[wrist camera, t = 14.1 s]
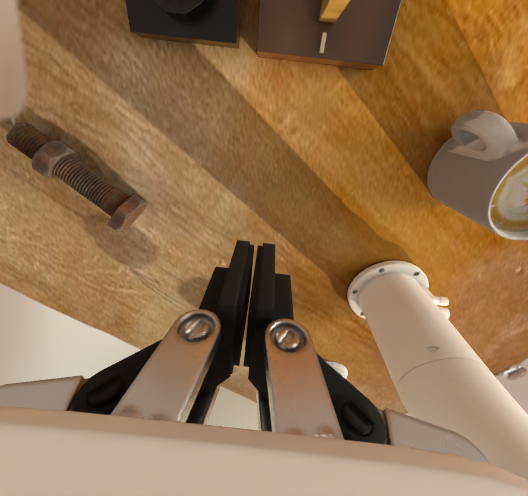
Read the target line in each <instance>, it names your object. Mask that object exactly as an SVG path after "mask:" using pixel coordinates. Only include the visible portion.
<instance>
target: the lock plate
mask: <svg viewBox="0 0 528 496" xmlns="http://www.w3.org/2000/svg"><path fill="white" fill-rule="evenodd" d="M401 1H402V0H350V2H349V3H348V4H347V6H346V7H345V9H344V10H343V11H342V13H341V14H340V16H339V17H338V18H337V20H336V21H335V23H331V22H323V21H319V16H320V10H321V4H322V0H259V17H258V34H257V54H258V57H263V58H272V59H281V60H290V61H299V62H307V63H316V64H325V65H334V66H342V67H351V68H360V69H369V70H372V69H375V68H378V67H380V66H383V64H384V61H385V57H386V54H387V50H388V47H389V43H390V40H391V36H392V33H393V29H394V26H395V22H396V19H397V15H398V12H399V8H400V5H401Z"/></svg>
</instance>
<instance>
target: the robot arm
mask: <svg viewBox="0 0 528 496" xmlns="http://www.w3.org/2000/svg"><path fill="white" fill-rule="evenodd" d="M253 254H254V245H250V242H249V241H240V240H237V243H236V246H235V250H234V253H233V256H232V259H231V263H230V266H229V268H222V267H216V268H215V270H214V272H213V274H212V277H211V279H210V282H209V285H208V287H207V290H206V292H205V295H204V297H203V300H202V302H201V305H200V307H199V309H198V310H192V311H189V312H186V313H184V314H183V315H181V316H180V317H179V318H178V319H177V320H176V321H175V322H174V324H173V325H172V327H171V328H170V329H169V331H168V332H167V334H166V335H165V337H164V338H163V339H162V340H160V341H158V342H156V343H154V344H152V345H150V346H148V347H146V348H144V349H142V350H140V351H139V352H137V353H135V354H133V355H131V356H129V357H127V358H125V359H123V360H121V361H119V362H117V363H115V364H114V365H111V366H109V367H108V368H106V369H104V370H102V371H100V372H98V373H97V374H95V375H94V376H92V377H91V378H88V379H84V378H83V376H74V377H66V378H57V379H48V380H40V381H31V382H23V383H13V384H6V385H2V386H0V496H528V415H527V414H526V413H525V411H524V410H523V409H522V408H521V407H520V406H519V404H518V403H517V402H516V401H515V400H514V399H513V398H512V396H511V395H510V394H509V393H508V392H507V391H506V390H505V388H504V387H503V386H502V385H501V383H499V381H498V380H497V379H496V377H495V376H494V375H493V374H492V373H491V371H490V370H489V369H488V368H487V367H486V365H485V364H484V363H483V362H482V360H481V359H480V358H479V357H478V356H477V354H476V353H475V352H474V351H473V349H472V348H471V347H470V346H469V345H468V343H467V342H466V341H465V340H464V339H463V337H462V336H461V335H460V334H459V332H458V331H457V330H456V329H455V328H454V326H453V325H452V324H451V323H450V321H449V320H448V318H449V317H450V312H449V310H448V309H447V308H444V307H437V306H436V305H443V306H447V305H448V304H449V300H448V298H447V297H440V296H437V297H435V296H433V295H432V293H431V292H430V291H429V290H428V287H429V285H428V280H427V277H426V275H425V274H424V273H423V272H422V271H421V270H420V269H419V268H418V267H417V266H415V265H413V264H411V263H408V262H405V261H386V262H381V263H378V264H375V265H372V266H370V267H368V268H366V269H365V270H363V271H362V272H361V273H359V274H358V275H357V276H356V277H355V278H354V280H353V281H352V282H351V284H350V286H349V289H348V293H347V297H348V302H349V305H350V307H351V309H352V310H353V311H354V312H355V313H356V314H357V315H358V316H360V317H362V318H364V319H366V320H367V323H368V325H369V327H370V330H371V332H372V334H373V337H374V339H375V341H376V343H377V346H378V348H379V350H380V353H381V355H382V357H383V360H384V362H385V364H386V366H387V369H388V371H389V373H390V376H391V378H392V380H393V383H394V385H395V387H396V390H397V392H398V394H399V397H400V399H401V401H402V403H403V405H404V407H405V409H406V411H407V412H408V414H409V415H410V416H407V415H405V414H402V413H399V412H396V411H393V410H390V409H388V408H385V409H384V411H383V410H380V409H377V408H376V407H375V406H374V405H373V403H372V402H371V401H370V400H369V399H368V398H366V397H365V396H364V395H363V394H362V393H361V392H360V391H358V390H357V389H356V388H355V387H354V386H353V385H352V384H351V383H349V382H348V381H347V380H346V379H345V378H344V377H343V376H341V375H340V374H339V373H338V372H337V371H336V370H335V369H334V368H332V367H331V366H330V365H329V364H328V363H327V362H326V361H324V360H323V359H322V358H321V357H320V356H319V355H318V354H316V351H315V348H314V345H313V342H312V339H311V336H310V334H309V332H308V330H307V329H306V328H305V327H304V326H303V325H302V324H300V323H299V322H297V321H294V317H293V304H292V292H291V279H290V275H285V274H276V273H275V244H267V243H263V246H258V249H257V256H256V263H255V270H254V277H253V284H252V291H251V298H250V305H249V314H248V325H247V336H246V346H245V357H244V366H247V367H249V376H248V379H249V380H250V381H251V383H252V384H253V385H254V386H255V387H256V389H257V393H256V396H257V410H258V424H259V430H249V429H240V428H230V427H221V426H211V425H207V421H208V419H209V416H210V413H211V411H212V408H213V405H214V402H215V400H216V397H217V394H218V391H219V387H220V384H221V383H222V382H223V381H225V380H226V379H227V378H229V377H230V374H232V372H233V366H234V365H237V366H239V363H240V357H241V350H242V343H243V337H244V330H245V323H246V317H247V310H248V303H249V296H250V287H251V276H252V265H253Z"/></svg>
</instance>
